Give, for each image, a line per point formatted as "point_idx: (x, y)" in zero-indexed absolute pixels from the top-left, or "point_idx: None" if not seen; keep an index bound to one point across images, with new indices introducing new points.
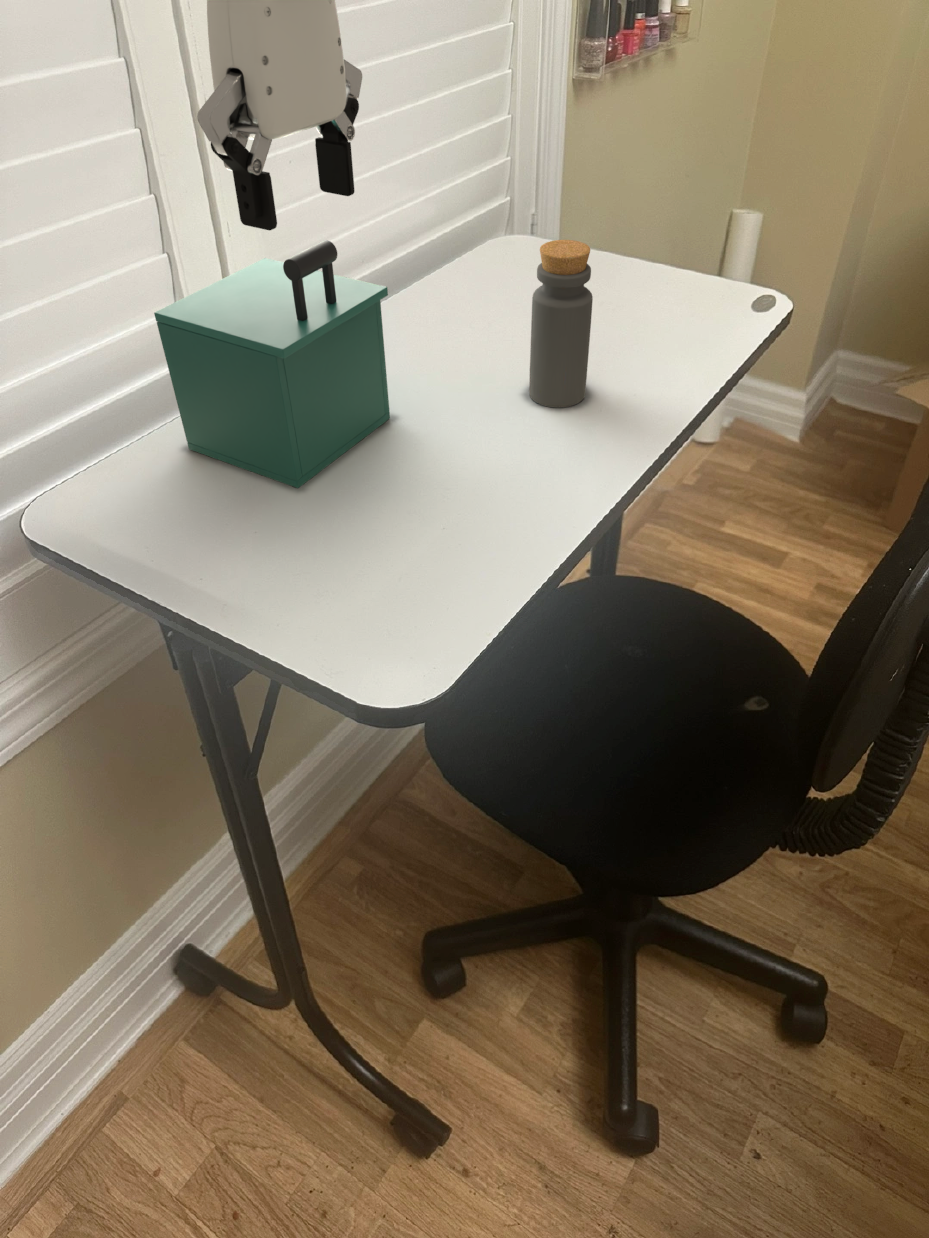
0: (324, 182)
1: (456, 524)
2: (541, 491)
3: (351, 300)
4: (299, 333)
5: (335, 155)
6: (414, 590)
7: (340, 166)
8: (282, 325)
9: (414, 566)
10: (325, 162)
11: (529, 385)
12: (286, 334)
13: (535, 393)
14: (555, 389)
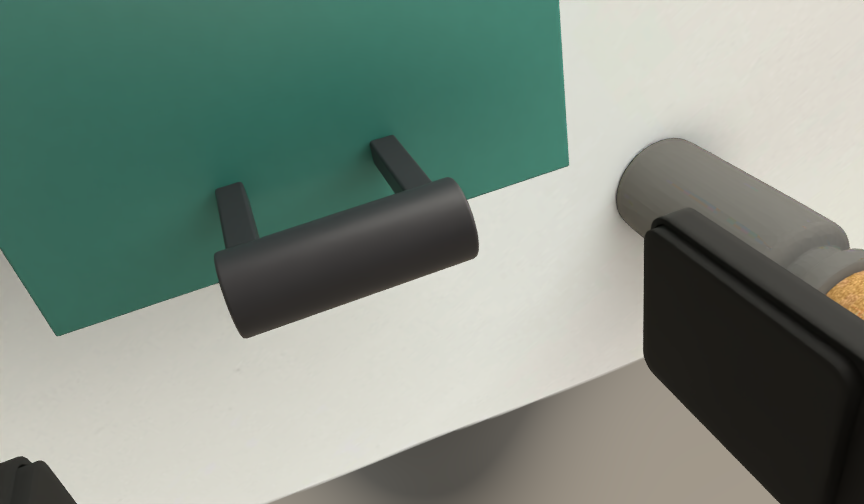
0: (674, 274)
1: (261, 371)
2: (414, 370)
3: (435, 178)
4: (164, 274)
5: (773, 448)
6: (102, 456)
7: (733, 425)
8: (149, 193)
9: (137, 417)
10: (746, 356)
11: (648, 161)
12: (123, 257)
13: (629, 188)
14: (639, 231)
